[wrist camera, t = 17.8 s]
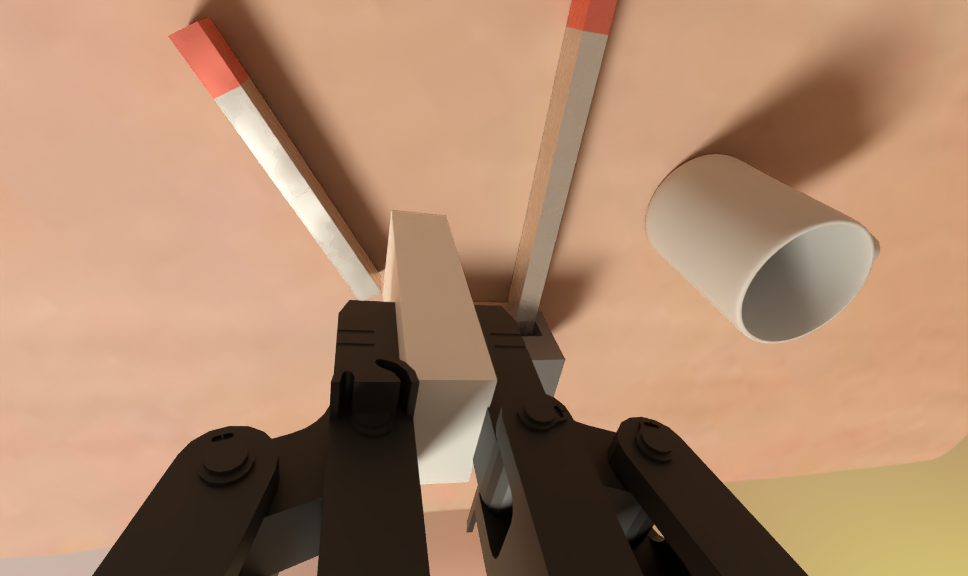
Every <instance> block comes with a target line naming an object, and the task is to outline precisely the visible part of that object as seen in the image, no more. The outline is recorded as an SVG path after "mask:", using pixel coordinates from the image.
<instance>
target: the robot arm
mask: <svg viewBox="0 0 968 576" xmlns="http://www.w3.org/2000/svg"><path fill="white" fill-rule="evenodd" d="M473 464H474V468H475V473H476V478H477V482H478V486H477V490H476V493H475V496H474V500H473V503H472V506H471V510H470V513H469V516H468V520H467V532H472V531H473V528H474V525H475V522H477V527H478V531H479V537H480V542H481V547H482V553H483V557H484V563H485V568H486V573H487V576H808V575H807V574H806V573H805V571H804V570H803V569H802V568H801V567H800V566H799V565H798V564H797V563H796V562H795V561H794V560H793V558H791V556H790V555H789V554H788V553H787V552H786V551H785V550H784V549H783V548H782V547H781V545H780V544H779V543H778V542H777V541H776V540H775V539H774V538H773V537H772V536H771V535H770V534H769V533H768V531H767V530H766V529H765V528H764V527H763V526H762V525H761V524H760V523H759V522H758V521H757V520H756V518H755V517H754V516H753V515H752V514H751V513H750V512H749V511H748V510H747V509H746V508H745V507H744V506H743V504H742V503H741V502H740V501H739V500H738V499H737V498H736V497H735V496H734V495H733V494H732V493H731V491H730V490H729V489H728V488H727V487H726V486H725V485H724V484H723V483H722V482H721V481H720V480H719V479H718V477H717V476H716V475H715V474H714V473H713V472H712V471H711V470H710V469H709V468H708V467H707V466H706V464H705V463H704V462H703V461H702V460H701V459H700V458H699V457H698V456H697V455H696V454H695V453H694V452H693V450H692V449H691V448H690V447H689V446H688V445H687V444H686V443H685V442H684V441H683V440H682V439H681V438H680V437H679V436H678V435H677V434H676V433H675V432H673V431H672V430H671V429H670V428H669V427H667V426H665V425H663V424H661V423H659V422H657V421H655V420H652V419H648V418H644V417H633V418H629V419H627V420H625V421H623V422H621V424H620V426H619V428H618V430H617V432H612V431H608V430H604V429H600V428H596V427H592V426H588V425H585V424H582V423H579V422H576V421H574V420H573V418H572V416H571V414H570V413H569V411H568V410H567V409H566V407H565V406H564V405H563V404H562V403H560V402H559V401H558V400H557V399H555V398H554V397H552V396H550V395H547V394H546V393H545V391H544V388H543V386H542V383H541V381H540V379H539V376H538V374H537V371H536V369H535V366H534V364H533V362H532V359H531V357H530V354H529V352H528V350H527V349H526V345H525V342H524V340H523V338H522V337H521V333H520V330H519V328H518V326H517V323H516V321H515V319H514V318H513V317H512V316H511V315H510V314H509V313H508V312H507V311H506V310H505V309H504V308H503V307H502V306H491V305H474V304H473V301H472V298H471V295H470V291H469V288H468V285H467V282H466V279H465V275H464V272H463V269H462V266H461V263H460V259H459V256H458V253H457V250H456V247H455V243H454V240H453V237H452V234H451V231H450V227H449V224H448V221H447V218H446V215H436V214H426V213H416V212H406V211H396V210H391V219H390V229H389V238H388V248H387V257H386V267H385V276H384V286H383V302H380V301H359V300H349V301H348V303H347V304H346V305H345V306H344V308H343V309H342V310H341V311H340V312H339V316H338V329H337V341H336V354H335V366H334V375H333V378H332V381H331V394H330V406H329V407H328V409H327V411H326V412H325V414H324V415H323V416H322V417H321V418H319V419H318V420H317V421H316V422H315V423H313V424H311V425H310V426H308V427H307V428H305V429H302V430H299V431H297V432H294V433H291V434H288V435H284V436H280V437H277V438H273V439H271V438H270V437H269V436H268V435H267V434H266V433H265V432H263V431H261V430H258V429H255V428H252V427H249V426H228V427H224V428H220V429H216V430H212V431H209V432H207V433H205V434H204V435H202V436H200V437H198V438H196V439H195V440H193V441H191V442H190V443H189V444H188V445H187V446H186V447H185V448H184V449H183V450H182V451H181V452H180V453H179V454H178V455H177V457H176V458H175V459H174V461H173V462H172V464H171V465H170V466H169V468H168V469H167V471H166V472H165V474H164V475H163V476H162V478H161V479H160V481H159V482H158V483H157V485H156V486H155V488H154V489H153V491H152V492H151V493H150V495H149V496H148V498H147V499H146V500H145V502H144V503H143V505H142V506H141V507H140V509H139V510H138V512H137V513H136V515H135V516H134V517H133V519H132V520H131V522H130V523H129V524H128V526H127V527H126V529H125V530H124V531H123V533H122V534H121V536H120V537H119V539H118V540H117V541H116V543H115V544H114V546H113V547H112V548H111V550H110V551H109V553H108V554H107V556H106V557H105V558H104V560H103V561H102V563H101V564H100V565H99V567H98V568H97V570H96V571H95V572H94V574H93V575H92V576H278V574H279V572H280V571H283V570H285V569H287V568H290V567H292V566H295V565H297V564H299V563H302V562H304V561H306V560H309V559H311V558H314V557H316V556H318V555H319V560H318V572H317V576H430V572H429V562H428V554H427V543H426V534H425V525H424V515H423V506H422V496H421V487H420V484H438V483H457V482H469V478H470V475H471V471H472V468H473ZM654 524H655V525H656V527H657V528H658V530H659V531H660V532H661V534H662V535H663V536H664V538H663V537H662V536H660V535H658V534H657V533H656V531H655V530H654V529H653V528H652V527H653V525H654Z"/></svg>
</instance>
